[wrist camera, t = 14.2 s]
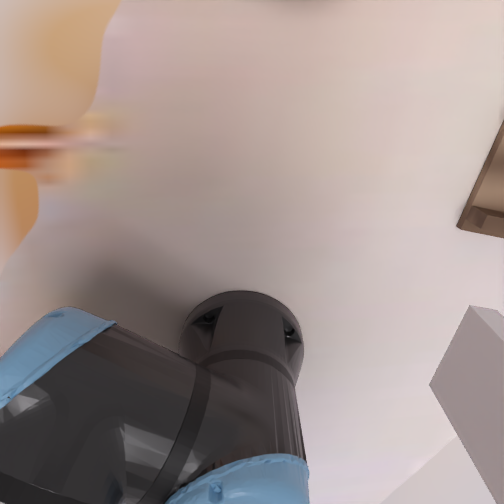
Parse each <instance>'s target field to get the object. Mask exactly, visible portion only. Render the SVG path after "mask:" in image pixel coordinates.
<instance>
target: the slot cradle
mask: <svg viewBox="0 0 504 504" xmlns="http://www.w3.org/2000/svg"><path fill="white" fill-rule="evenodd" d="M457 227H458V228H459V229H461V230H465V231H470V232H475V233H480V234H485V235H490V236H495V237H500V238H504V122H503V124H502V126H501V128H500V130H499V133H498V135H497V137H496V139H495V142H494V144H493V146H492V148H491V150H490V153H489V155H488V157H487V159H486V162H485V164H484V166H483V168H482V170H481V173H480V175H479V177H478V179H477V182H476V184H475V186H474V188H473V190H472V193H471V195H470V197H469V199H468V202H467V204H466V206H465V208H464V210H463V213H462V215H461V217H460V219H459V222H458V224H457Z"/></svg>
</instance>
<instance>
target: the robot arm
mask: <svg viewBox="0 0 504 504" xmlns="http://www.w3.org/2000/svg"><path fill="white" fill-rule="evenodd" d="M303 357H304V344H303V339H302V334H301V329H300V326H299V324H298V322H297V320H296V318H295V317H294V315H293V314H292V313H291V312H290V310H289V309H288V308H286V307H285V306H284V305H283V304H281V303H280V302H278V301H277V300H275V299H273V298H271V297H269V296H266V295H263V294H260V293H256V292H249V291H233V292H227V293H223V294H219V295H216V296H214V297H211V298H209V299H207V300H206V301H204V302H203V303H201V304H200V305H199V306H197V307H196V308H195V309H194V310H193V311H192V313H191V314H190V315H189V317H188V318H187V320H186V322H185V324H184V327H183V330H182V334H181V338H180V342H179V354H177V353H174V352H172V351H170V350H168V349H166V348H164V347H162V346H160V345H158V344H156V343H154V342H151V341H149V340H147V339H145V338H143V337H141V336H139V335H137V334H135V333H133V332H131V331H128V330H126V329H124V328H122V327H120V326H118V325H117V322H115V321H113V320H110V321H107V320H105V319H102V318H100V317H97V316H95V315H93V314H90V313H88V312H85V311H83V310H81V309H78V308H74V307H63V308H59V309H56V310H54V311H52V312H50V313H48V314H46V315H45V316H44V317H42V318H41V319H40V320H38V321H37V322H36V323H35V324H34V325H32V326H31V327H30V328H29V329H28V330H27V331H26V332H25V333H24V334H23V335H22V336H21V337H20V338H19V339H18V340H17V341H16V342H15V343H14V344H13V345H12V346H11V347H10V348H9V349H8V350H7V351H6V352H5V354H4V355H3V356H2V357H1V358H0V504H310V503H309V489H308V479H309V470H308V466H307V461H306V455H305V449H304V442H303V436H302V430H301V424H300V417H299V411H298V405H297V399H296V393H295V386H296V382H297V379H298V376H299V372H300V369H301V366H302V362H303ZM429 386H430V387H431V389H432V391H433V393H434V394H435V396H436V398H437V400H438V401H439V403H440V405H441V407H442V408H443V410H444V412H445V414H446V416H447V417H448V419H449V421H450V423H451V424H452V426H453V428H454V430H455V431H456V433H457V435H458V437H459V438H460V440H461V442H462V444H463V445H464V447H465V449H466V451H467V452H468V454H469V456H470V458H471V459H472V461H473V463H474V465H475V466H476V468H477V470H478V472H479V473H480V475H481V477H482V479H483V480H484V482H485V484H486V486H487V487H488V489H489V491H490V493H491V494H492V496H493V498H494V500H495V501H496V503H497V504H504V317H503V316H502V315H501V314H500V313H499V312H498V311H497V310H493V309H488V308H482V307H477V306H471V305H469V307H468V309H467V311H466V313H465V315H464V317H463V319H462V321H461V323H460V325H459V327H458V329H457V331H456V333H455V335H454V337H453V339H452V341H451V343H450V345H449V347H448V349H447V351H446V353H445V354H444V356H443V358H442V360H441V362H440V364H439V366H438V368H437V370H436V372H435V374H434V376H433V378H432V380H431V382H430V384H429Z"/></svg>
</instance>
